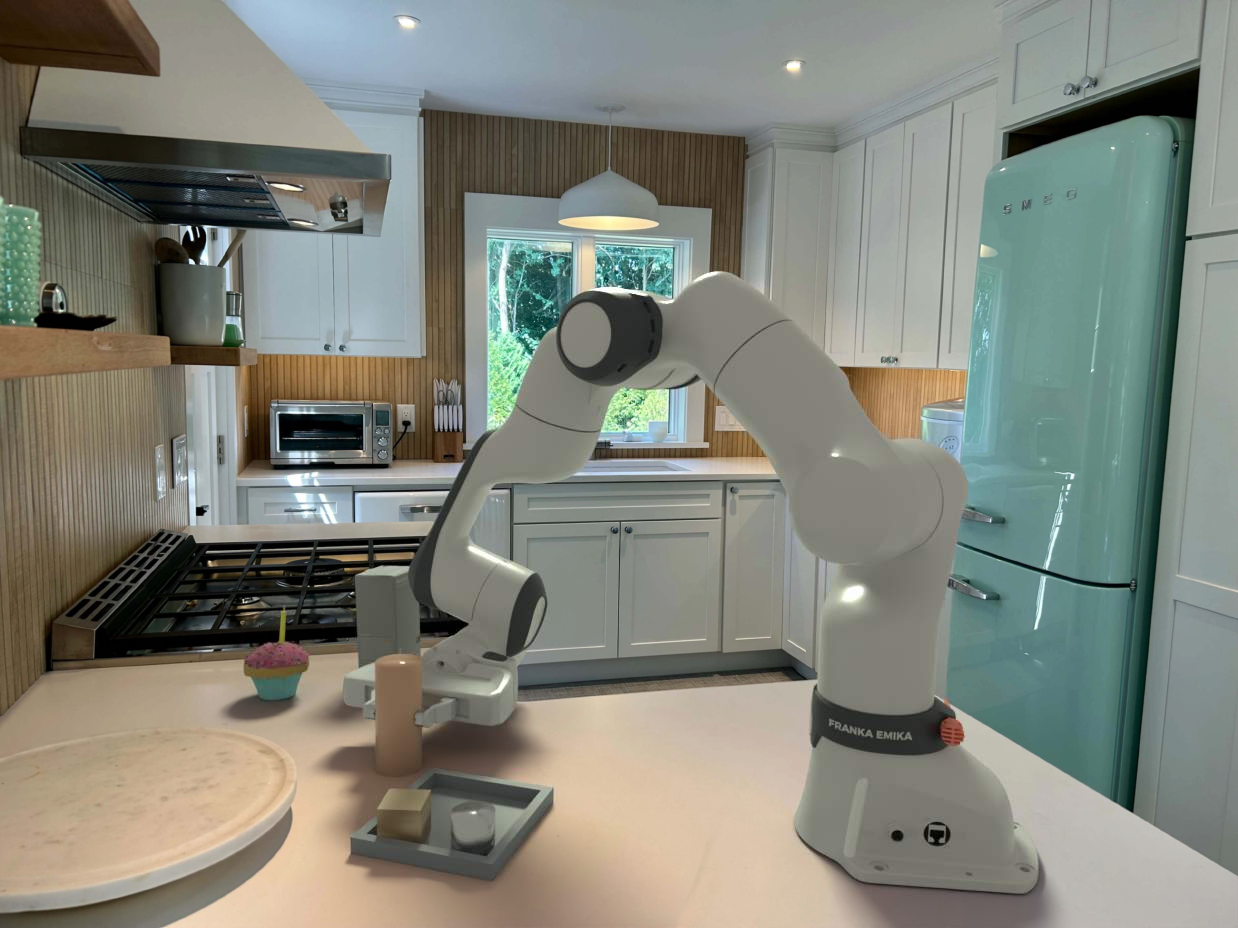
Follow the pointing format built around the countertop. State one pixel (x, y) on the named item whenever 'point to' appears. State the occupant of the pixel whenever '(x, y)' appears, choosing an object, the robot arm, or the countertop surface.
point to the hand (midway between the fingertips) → (394, 716)
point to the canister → (398, 714)
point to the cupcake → (277, 666)
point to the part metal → (473, 827)
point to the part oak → (405, 815)
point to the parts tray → (513, 823)
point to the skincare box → (386, 614)
